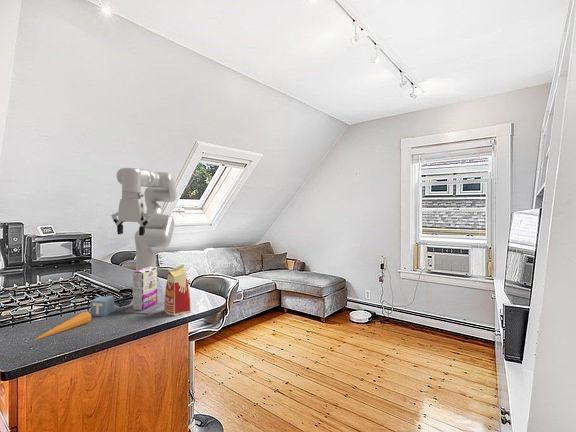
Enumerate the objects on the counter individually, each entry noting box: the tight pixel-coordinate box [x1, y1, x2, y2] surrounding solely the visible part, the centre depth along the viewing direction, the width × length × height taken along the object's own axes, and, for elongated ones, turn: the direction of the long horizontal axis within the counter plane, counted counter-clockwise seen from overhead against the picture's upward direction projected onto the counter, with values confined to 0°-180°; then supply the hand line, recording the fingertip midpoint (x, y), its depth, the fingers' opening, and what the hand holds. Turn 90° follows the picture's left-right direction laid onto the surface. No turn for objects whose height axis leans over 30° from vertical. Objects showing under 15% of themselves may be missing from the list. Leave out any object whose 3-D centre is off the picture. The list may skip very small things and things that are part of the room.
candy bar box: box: [132, 266, 158, 311], centre depth 140 cm, size 11×5×16 cm, turn 171°
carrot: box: [32, 311, 92, 342], centre depth 113 cm, size 20×4×4 cm, turn 159°
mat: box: [123, 301, 164, 315], centre depth 140 cm, size 15×10×1 cm, turn 175°
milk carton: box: [163, 263, 192, 316], centre depth 136 cm, size 9×9×20 cm
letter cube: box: [89, 295, 115, 317], centre depth 131 cm, size 6×6×6 cm
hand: (130, 234), depth 143 cm, fingers open, 9 cm apart
